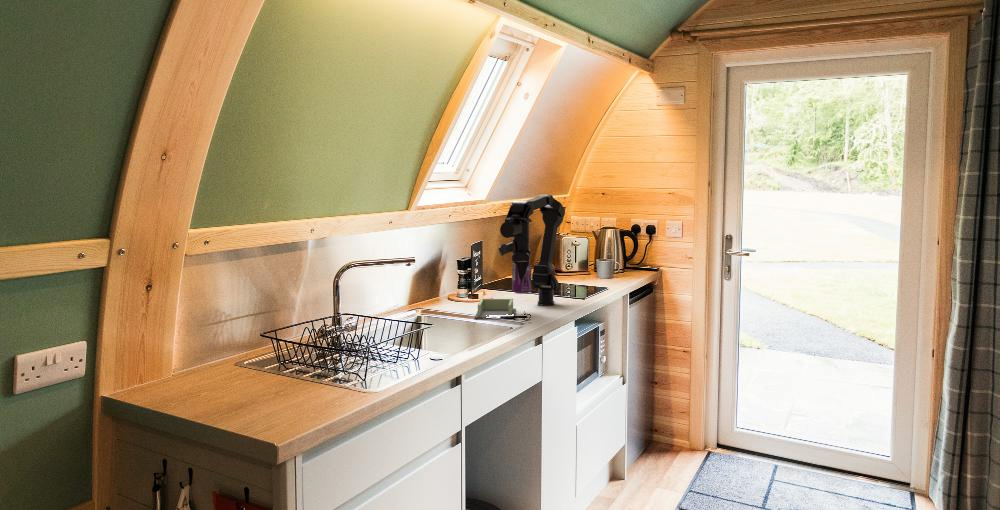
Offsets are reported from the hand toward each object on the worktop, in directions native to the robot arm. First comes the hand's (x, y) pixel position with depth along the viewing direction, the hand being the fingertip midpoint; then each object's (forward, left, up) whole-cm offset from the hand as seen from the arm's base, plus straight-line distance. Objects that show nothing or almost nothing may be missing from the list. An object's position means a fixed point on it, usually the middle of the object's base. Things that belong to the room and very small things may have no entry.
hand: (521, 277), depth 287 cm
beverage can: (0, 0, -6) cm, 6 cm away
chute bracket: (+3, -9, -13) cm, 17 cm away
